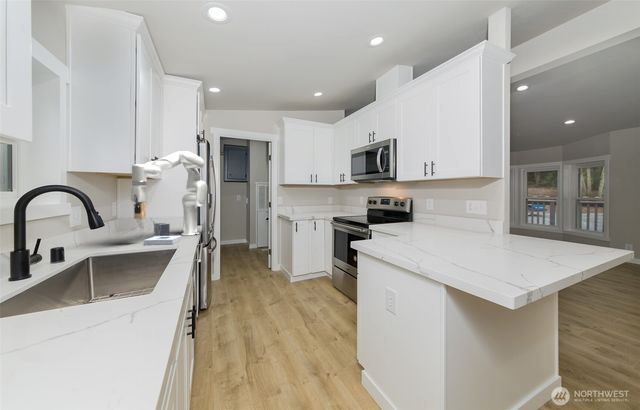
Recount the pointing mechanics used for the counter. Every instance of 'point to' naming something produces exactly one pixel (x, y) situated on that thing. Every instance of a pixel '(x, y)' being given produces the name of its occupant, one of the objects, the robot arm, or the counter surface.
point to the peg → (142, 214)
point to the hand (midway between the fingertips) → (139, 212)
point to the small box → (161, 229)
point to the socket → (162, 240)
